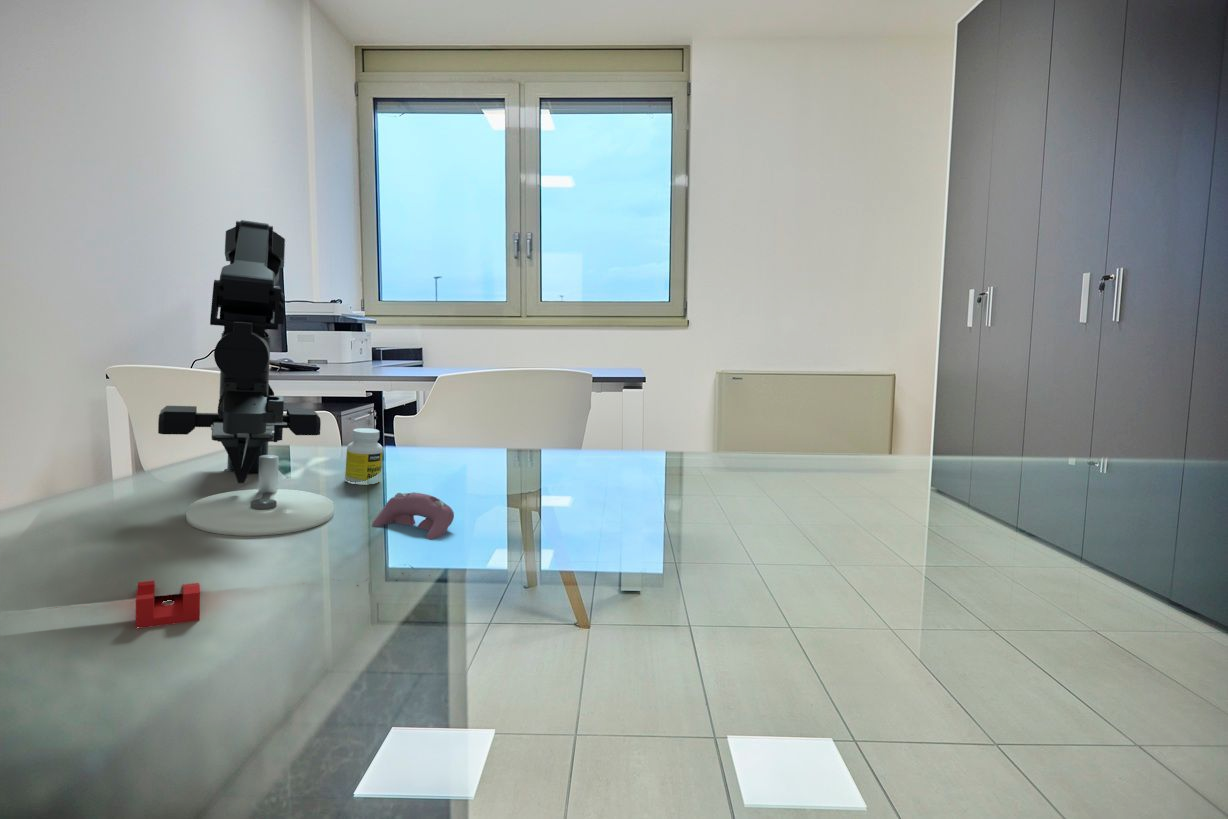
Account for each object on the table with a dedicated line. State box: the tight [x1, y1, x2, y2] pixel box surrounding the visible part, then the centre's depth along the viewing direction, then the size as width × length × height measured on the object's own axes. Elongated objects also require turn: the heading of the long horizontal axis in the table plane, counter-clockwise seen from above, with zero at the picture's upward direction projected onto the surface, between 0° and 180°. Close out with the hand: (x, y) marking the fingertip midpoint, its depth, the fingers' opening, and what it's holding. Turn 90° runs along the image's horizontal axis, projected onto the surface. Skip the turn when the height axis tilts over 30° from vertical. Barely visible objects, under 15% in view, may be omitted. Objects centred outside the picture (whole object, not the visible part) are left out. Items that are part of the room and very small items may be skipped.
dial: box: [185, 454, 335, 537], centre depth 87 cm, size 17×17×6 cm
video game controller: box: [371, 492, 455, 540], centre depth 89 cm, size 10×5×7 cm, turn 72°
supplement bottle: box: [344, 427, 384, 483], centre depth 108 cm, size 5×5×10 cm
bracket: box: [135, 580, 201, 629], centre depth 63 cm, size 6×5×3 cm
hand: (241, 482), depth 92 cm, fingers closed
